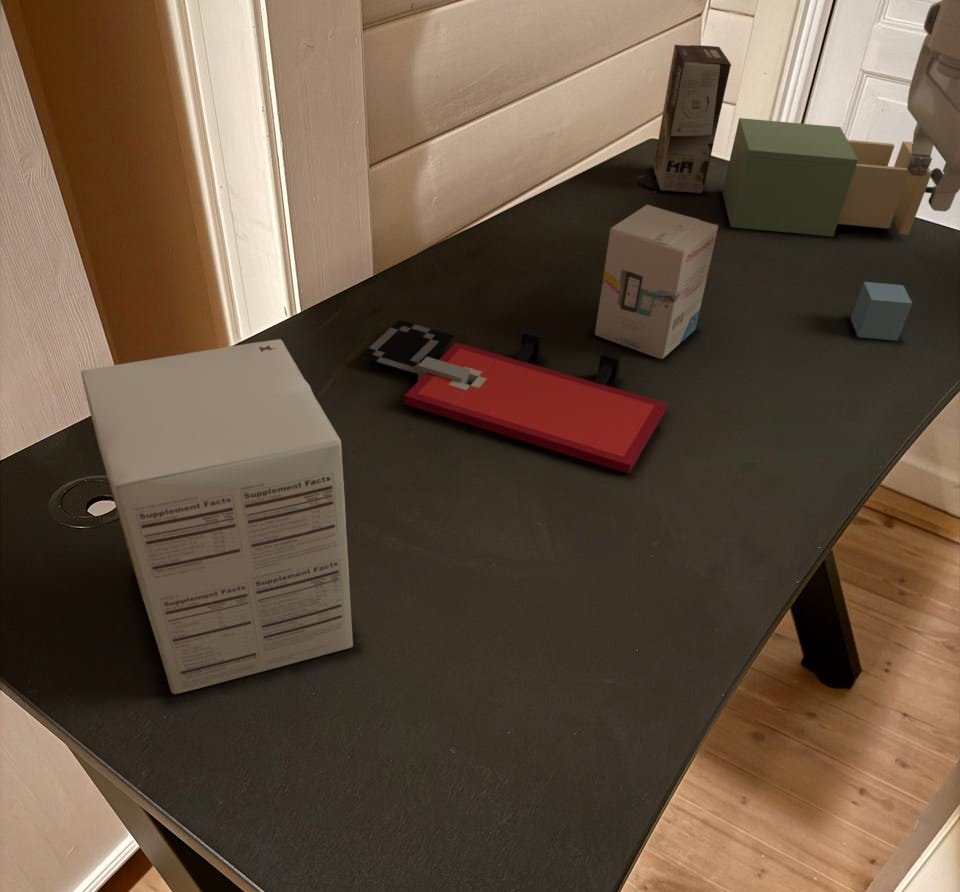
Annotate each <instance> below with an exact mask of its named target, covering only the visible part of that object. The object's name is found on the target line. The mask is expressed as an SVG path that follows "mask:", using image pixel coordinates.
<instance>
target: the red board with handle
mask: <svg viewBox="0 0 960 892" xmlns="http://www.w3.org/2000/svg"><path fill="white" fill-rule="evenodd" d="M455 337H456V335H453V334H450V333H447V332H443V331H439V330H436V329H432V328H429V327H426V326H422V325H418V324H414V323H411V322H408V321H404V320H401V319H398V320H397V321H396V322H395V323H394V324H393V325H392V326H390V328H389V329H387V330H386V331H385V332H384V333H383V334H382V335H381V336H380V337H379V338H377V339H376V340H375V342H373V343H372V344H371V345H370V346H369V347H368V348H367V349H366V350H364V351H363V352H362V353H361V354H360V355H359V357H361V358H364V359H366V360H371V361H374V362H378V363H380V364H384V365H387V366H391V367H394V368H397V369H400V370H403V371H407V372H410V373H414V374H417V382H416V383H415V384H413V386H412V387H411V388H410V389H409V390H408V391H407V392H406V393H405V394H404V399H403V400H404V403H403V404H404V405H406V406H410V407H413V408H415V409H419V410H421V411H426V412H428V413H432V414H435V415H439V416H441V417H445V418H448V419H451V420H454V421H457V422H460V423H464V424H467V425H471V426H473V427H476V428H479V429H483V430H486V431H488V432H492V433H496V434H499V435H502V436H506V437H509V438H512V439H515V440H518V441H520V442H521V441H522V442H525V443H528V444H531V445H535V446H538V447H541V448H544V449H547V450H551V451H553V452H557V453H560V454H563V455H566V456H570V457H573V458H575V459H576V458H577V459H580V460H583V461H586V462H589V463H592V464H595V465H599V466H601V467H605V468H608V469H612V470H615V471H618V472H621V473H625V474H629V475H630V473H631V471H632V469H633V467H634V466H635V464H636V462H637V460H638V459H639V457H640V455H641V454H642V452H643V451H644V448H645V447H646V445H647V444H648V442H649V440H650V438H651V436H652V435H653V433H654V432H655V429H656V428H657V426H658V424H659V423H660V421H661V419H662V418H663V416H664V414H665V412H666V409H667V405H668V402H663V401H660V400H658V399H653V398H650V397H646V396H643V395H639V394H637V393H634V392H629V391H625V390H623V389H619V388H616V387H612V386H615V384H616V383H617V381H618V379H619V378H618V377H619V373H620V369H621V368H620V367H621V363H622V357H623V355H621V354H617V353H614V352H611V351H607V350H603V351H602V353H601V354H600V358H599V364H598V370H597V375H596V377H595V378H594V380H593V381H591V380H588V379H585V378H581V377H577V376H574V375H571V374H567V373H563V372H560V371H556V370H553V369H550V368H547V367H543V366H539V365H536V364H532V363H529V361H530V362H533V363H539V362H538V361H540V360H541V355H542V345H543V338H544V333H542V332H539V331H535V330H532V329H529V328H525V329H524V330H523V332H522V333H521V344H520V345H521V346H520V350H518V353H517V354H516V357H514V358H511V357H508V356H504V355H502V354H498V353H494V352H491V351H487V350H484V349H480V348H477V347H474V346H470V345H467V344H463V343H460V342H457V341H456V342H454V343H453V344H452V345H451V346H450V348H449V349H448V350H447V351H445V353H444V354H443V355H442V356H441V357H440V358H439V359H436V358H435V357H436V356H437V355H438V354H440V352H441V351H442V350H444V348H445V347H446V346H447V345H448V344H449V343H450V342H451V341H452V340H453V339H454V338H455ZM470 383H471V384H470ZM607 384H609V385H612V386H608V385H607Z"/></svg>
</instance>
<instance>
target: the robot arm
mask: <svg viewBox="0 0 960 892" xmlns="http://www.w3.org/2000/svg"><path fill="white" fill-rule="evenodd" d="M923 30H924V32H925V34H926V35H925V37H924V39H923V41H922V44H921V47H920V51H919V54H918V57H917V60H916V64H915V66H914V67H915V68H914V69H913V74H912V78H911V81H910V85H909V89H908V95H907V104H906V106H907V107H906V109H907V111H908V112H909V113H910V115H911V116H912V118H913V119H914V121H916V124H915V128H914V131H913V138H912V139H913V140H912V153H911V156H910V159H909V161H908V164H907V170H908V171H909V173H910V174H911V175H912V176H924V175H926V173H927V171H928V167H929V168H930V167H931V163H932V160H933V158H932V153H933V149H934V148H935V149H936V151H937V152H938V153H939V155H940V156H941V158H942V159H943V160H944V162H945V163H944V166H943V169H942V173H943V174H944V175H943V176H942V178H941V180H940V182H939V184H938V186H936V185H933V186H932V187H933V190H932V192H931V193H930V196H929V198H928V202H927V203H928V204H929V206H930V208H931V209H932V210H933V211H935V212H947V211H949V210H950V209H951V207H952V205H953V202H954V200H955V197H956V195H957V193H959V191H960V0H940V1H937V2H934V3H933V4H931V5H930V7H929V9H928V11H927V14H926V17H925V20H924V23H923Z"/></svg>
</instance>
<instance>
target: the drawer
mask: <svg viewBox="0 0 960 892" xmlns="http://www.w3.org/2000/svg"><path fill="white" fill-rule="evenodd" d="M847 140H848V142H849V144H850V146H851V148H852V150H853V151H854V153H855V155H856V157H857V159H858V161H857V164H856V168H855V171H854V174H853V177H852V180H851V183H850V186H849V189H848V193H847V196H846V199H845V202H844V205H843V208H842V211H841V214H840V218H839V221H838V224H837V225H844V226H845V225H846V226H855V227H856V226H857V227H867V228H868V227H869V228H880V229H887V230H888V229H890V227H891V225H892V222H893V224H894V226H895V229H896V230H897V232H898V234H900V235H905V236H906V235H907V236H909V235H910V232H911V230H912V228H913V224H914V221H915V219H916V216H917V214H918V211H919V209H920V206H921V203H922V200H923V198H924V195H925V193H926V194H931V192H932V190H933V187H934V186H938V184H939V182H940V180H941V178H942V176H943V175H944V172H943V170H941V169H940V168H939V167H937V168H933V169H932V170H931V169H930V166H929V167H928V171H927V173H926V175H924V176H912V175H911V174H910V173H909V171H908V170H907V164H908V161H909V159H910V156H911V153H912V144H913V141H905V140H903V141H902V142H901V146H900V148H899V151H898V153H897V157H896V160H895V163H894V166H889V163H890V160H891V157H892V155H893V152H894V149H895V144H894V143H888V142H887V143H886V142H878V141H877V142H876V141H867V140H866V141H865V140H853V139H847ZM930 179H931V180H932V183H934V186H928V185H929V181H930Z"/></svg>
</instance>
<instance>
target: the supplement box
mask: <svg viewBox="0 0 960 892" xmlns="http://www.w3.org/2000/svg"><path fill="white" fill-rule="evenodd" d="M80 374H81V379H82V380H81V381H82V384H83V388H84V393H85V397H86V401H87V405H88V409H89V413H90V418H91V421H92V425H93V429H94V433H95V437H96V442H97V445H98V448H99V452H100V456H101V460H102V462H103V466H104V469H105V473H106V477H107V480H108V483H109V487H110V491H111V494H112V498H113V501H114V504H115V509H116V512H117V516H118V519H119V523H120V525H121V529H122V533H123V536H124V539H125V542H126V546H127V550H128V552H129V556H130V560H131V563H132V566H133V570H134V574H135V577H136V580H137V584H138V587H139V591H140V594H141V598H142V601H143V604H144V606H145V610H146V613H147V616H148V620H149V623H150V626H151V630H152V632H153V636H154V638H155V642H156V645H157V648H158V652H159V655H160V658H161V663H162V665H163V668H164V672H165V675H166V679H167V682H168V686H169V690H170V692H171V693H172V694H173V695H179V694H182V693H186V692H191V691H194V690H198V689H202V688H205V687H210V686H214V685H216V684H221V683H225V682H228V681H231V680H232V681H233V680H235V679H240V678H243V677H247V676H252V675H254V674H258V673H262V672H266V671H270V670H273V669H277V668H281V667H285V666H289V665H293V664H295V663H299V662H303V661H306V660H307V661H308V660H311V659H315V658H318V657H322V656H325V655H330V654H333V653H336V652H337V653H338V652H340V651H344V650H347V649H351V648H353V647H354V641H353V640H354V639H353V625H352V623H353V622H352V608H351V589H350V573H349V554H348V537H347V517H346V499H345V497H346V496H345V483H344V468H343V467H344V466H343V452H342V441H341V438H340V437H339V435H338V434H337V432H336V429H335V428H334V427H333V425H332V423H331V422H330V420H329V418H328V417H327V415H326V413H325V412H324V410H323V408H322V405H320V403H319V401H318V400H317V399H316V397H315V395H314V393H313V390H312V388H311V386H310V384H309V383H308V382H307V380H306V379H305V378H304V376H303V375H302V373H301V371H300V369H299V367H298V365H297V364H296V362H295V360H294V359H293V357H292V355H291V354H290V352H289V350H288V349H287V347H286V345H285V343H284V341H283V340H282V339H280V338H279V339H271V340H264V341H257V342H250V343H244V344H238V345H237V344H236V345H232V346H231V345H230V346H225V347H219V348H212V349H207V350H206V349H205V350H199V351H194V352H189V353H188V352H187V353H182V354H176V355H170V356H169V355H168V356H163V357H158V358H157V357H156V358H151V359H150V358H149V359H145V360H139V361H133V362H127V363H126V362H125V363H120V364H114V365H107V366H102V367H95V368H90V369H82V370H81V373H80Z"/></svg>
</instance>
